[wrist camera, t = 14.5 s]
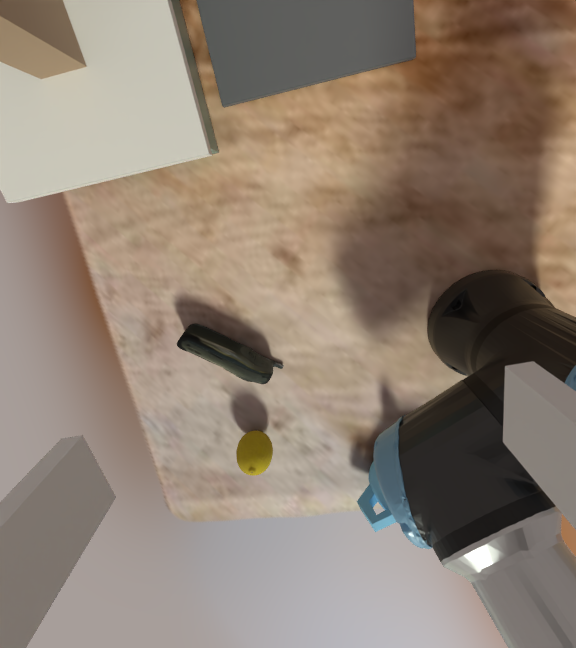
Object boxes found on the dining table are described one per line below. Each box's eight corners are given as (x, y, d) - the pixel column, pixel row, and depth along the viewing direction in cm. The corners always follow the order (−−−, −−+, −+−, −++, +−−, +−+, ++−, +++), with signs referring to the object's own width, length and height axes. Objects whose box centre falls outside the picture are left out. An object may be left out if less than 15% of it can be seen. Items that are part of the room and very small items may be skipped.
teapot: (386, 419, 54) (408, 472, 44) (467, 443, 55) (506, 499, 45) (349, 484, 59) (361, 544, 49) (424, 504, 61) (450, 566, 51)
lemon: (233, 434, 55) (224, 472, 47) (255, 414, 53) (250, 451, 46) (258, 452, 56) (253, 492, 49) (280, 433, 55) (279, 472, 47)
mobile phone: (172, 350, 44) (274, 395, 46) (180, 332, 43) (284, 378, 45) (184, 335, 48) (277, 376, 50) (191, 318, 47) (285, 360, 49)
